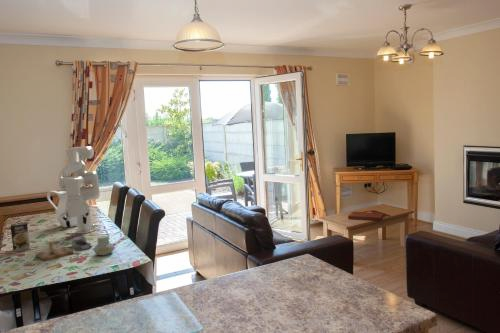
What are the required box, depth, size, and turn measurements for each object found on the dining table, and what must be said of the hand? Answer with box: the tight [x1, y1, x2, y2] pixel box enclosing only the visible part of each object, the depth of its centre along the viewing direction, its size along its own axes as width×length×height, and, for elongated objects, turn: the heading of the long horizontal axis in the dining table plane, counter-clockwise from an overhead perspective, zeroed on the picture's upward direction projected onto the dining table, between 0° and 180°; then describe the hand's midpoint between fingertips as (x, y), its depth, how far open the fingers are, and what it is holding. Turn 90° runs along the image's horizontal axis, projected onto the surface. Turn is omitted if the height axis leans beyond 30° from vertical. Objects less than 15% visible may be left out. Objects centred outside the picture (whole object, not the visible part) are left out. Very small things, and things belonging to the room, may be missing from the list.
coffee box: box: [10, 222, 31, 252], centre depth 241 cm, size 9×6×16 cm
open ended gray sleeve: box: [70, 235, 92, 251], centre depth 239 cm, size 14×6×5 cm, turn 43°
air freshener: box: [93, 235, 115, 256], centre depth 223 cm, size 11×8×10 cm
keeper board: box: [35, 241, 74, 262], centre depth 226 cm, size 16×14×8 cm
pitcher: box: [46, 190, 77, 228], centre depth 295 cm, size 24×17×28 cm
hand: (76, 225), depth 240 cm, fingers open, 9 cm apart
